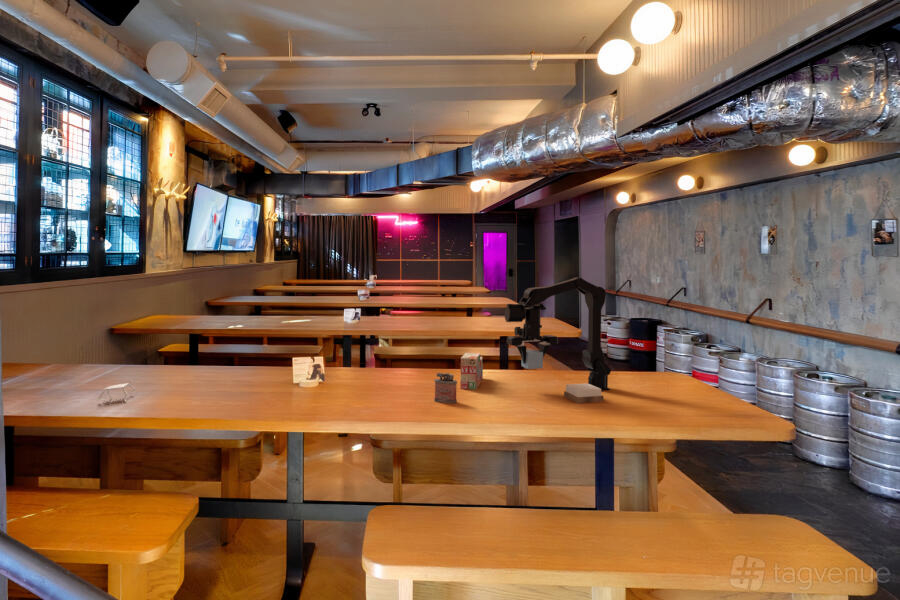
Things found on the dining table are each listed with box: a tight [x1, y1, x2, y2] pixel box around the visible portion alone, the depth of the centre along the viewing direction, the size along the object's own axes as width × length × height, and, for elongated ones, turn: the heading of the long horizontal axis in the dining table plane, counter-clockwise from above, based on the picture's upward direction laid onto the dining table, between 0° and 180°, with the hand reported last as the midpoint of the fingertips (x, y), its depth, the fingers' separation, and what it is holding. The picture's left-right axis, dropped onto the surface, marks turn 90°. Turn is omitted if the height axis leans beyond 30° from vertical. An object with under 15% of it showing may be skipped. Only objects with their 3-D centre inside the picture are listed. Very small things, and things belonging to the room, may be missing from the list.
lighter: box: [433, 372, 458, 404], centre depth 186 cm, size 8×3×10 cm, turn 71°
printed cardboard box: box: [460, 352, 484, 390], centre depth 215 cm, size 21×6×12 cm, turn 170°
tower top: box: [565, 383, 602, 397], centre depth 192 cm, size 9×9×2 cm
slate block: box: [520, 349, 544, 370], centre depth 201 cm, size 6×6×6 cm
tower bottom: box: [563, 390, 605, 404], centre depth 192 cm, size 10×10×2 cm
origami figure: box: [98, 382, 137, 404], centre depth 184 cm, size 12×8×5 cm
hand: (532, 363), depth 201 cm, fingers closed on slate block, 6 cm apart
